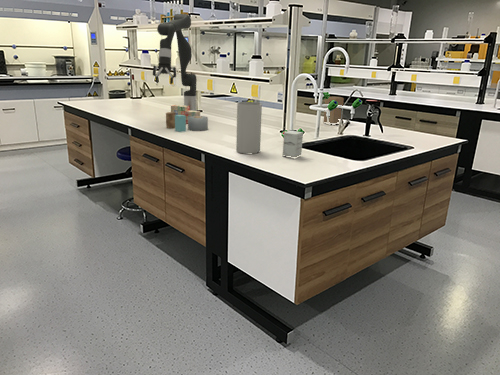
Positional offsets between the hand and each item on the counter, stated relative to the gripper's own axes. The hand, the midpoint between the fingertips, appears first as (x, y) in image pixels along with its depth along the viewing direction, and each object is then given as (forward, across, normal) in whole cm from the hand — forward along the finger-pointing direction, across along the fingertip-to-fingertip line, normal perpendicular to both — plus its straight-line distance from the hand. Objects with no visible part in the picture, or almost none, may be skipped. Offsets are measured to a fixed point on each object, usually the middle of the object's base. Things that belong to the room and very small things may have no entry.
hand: (164, 83), depth 248 cm
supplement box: (+38, -79, +52) cm, 102 cm away
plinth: (+27, -21, -13) cm, 36 cm away
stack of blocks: (+23, -9, -34) cm, 42 cm away
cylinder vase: (+37, -56, +45) cm, 81 cm away
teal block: (+29, -11, -5) cm, 31 cm away
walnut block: (+27, -2, -15) cm, 31 cm away
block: (+16, -117, -50) cm, 128 cm away
